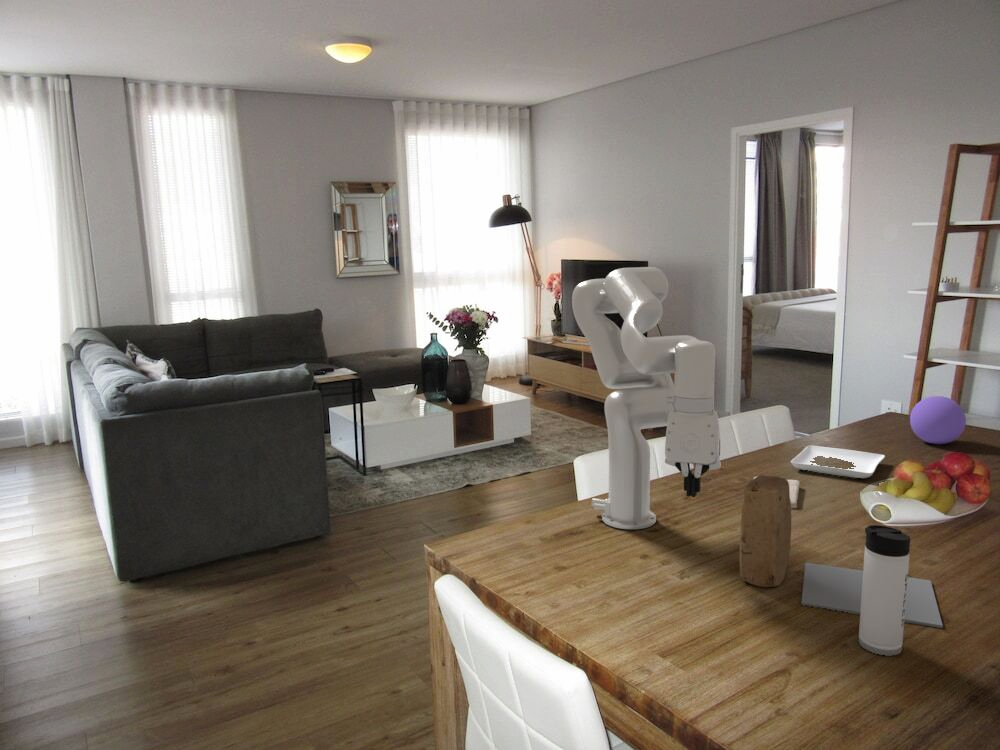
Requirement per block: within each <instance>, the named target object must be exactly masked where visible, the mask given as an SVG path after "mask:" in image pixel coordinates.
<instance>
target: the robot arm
mask: <svg viewBox="0 0 1000 750" xmlns="http://www.w3.org/2000/svg"><path fill="white" fill-rule="evenodd" d="M668 281H669V280H668V279H667V276H666V275H665V273H664V272H663V271H662V270H661V269H660V268H658V267H654V266H640V267H622V268H621V267H620V268H617V269H614V270H612V271H611V272H609V273H608V274H607V275H606V276H605V278H594V279H588V280H584V281H582V282H580V283H578V284H577V285H576V286H575V287H574V289H573V291H572V296H571V304H572V305H571V307H572V312H573V316H574V318H575V319H574V320H575V321H576V323H577V326H578V327H579V330H580V331H581V333H582V335H584V338H585V339H586V341H587V343H588V345H589V349H590V351H591V354H592V358H593V360H594V364H595V366H596V370H597V372H598V375H599V378H600V380H601V383H602V384H603V385H604V386H605V387H606V388H607V389H613V390H614V391H612V392H611V393H609V394H608V395H607V397H606V399H605V401H604V407H603V408H604V416H605V421H606V427H607V437H608V498H605V499H602V498H598V497H597V498H595V497H592V499H591V506H592V507H593V509H594V510H601V511H603V512H602V514H601V521H603V522H604V524H606V525H608V526H610V527H612V528H615V529H620V530H621V529H622V530H641V529H647V528H650V527H652V526H653V525H654V524H655V523H657V515H656V514H655V513H654V512H653V511H652V510H650V501H651V499H650V498H651V497H650V495H651V494H650V491H651V486H650V485H651V448H650V444H649V441H647V440H646V438H645V437H644V435H643V434H642V432H641V430H644V429H654V428H662V427H666V431H665V442H664V443H665V444H664V455H665V459H664V463H665V464H667V465H669V466H672V467H675V469H677V470H678V471H679V472H680V473H681V475H682V477H683V491H684V492H685V491H686V493H685V495H686V497H689V498H690V497H692V498H696V497H697V494H698V493H700V492H701V482H702V481H701V480H702V478H701V476H702V475H704V474H705V473H707V472H708V471H713V470H719V469H720V468H721V466H722V464H721V463H722V462H721V459H720V455H721V431H720V430H721V429H720V423H719V415H718V411H716V410H715V375H716V373H715V372H716V348H715V345H714V343H712V342H710V341H707V340H700V339H699V338H698V337H697V338H696V337H695V336H693V335H689V334H688V335H687V334H684V335H683V334H682V335H680V334H679V335H668V336H667V335H664V336H663V335H662V336H651V337H646V336H645V335H644V334H646V333H647V332H648V331H650V330H651V329H653V328H654V327H656V326H657V324H658V323H659V322H660V321H661V319H662V316H663V313H664V310H663V309H664V308H663V305H662V302H663V301H664V300H665V299H666V298H667V296H668V294H669V282H668ZM605 314H619V315H620V317H621V318H622V320H623V323H622V326H621V328H620V327H619V326H618V325H617V324H616V323H615V322H614V321H612V320H611V319H610V318H608V317H607V316H606V315H605ZM671 374H674V378H673V379H674V380H673V379H672V376H671ZM691 464H692V465H695V469H694V472H692V470H691Z"/></svg>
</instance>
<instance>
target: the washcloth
mask: <svg viewBox="0 0 1000 750" xmlns="http://www.w3.org/2000/svg"><path fill="white" fill-rule="evenodd" d="M758 476H759V475H758ZM758 476H754V477H753V479H755V478H756V477H758ZM786 480H787V481H788V483H789V491H790V502H791V507H793V508H794V509H797V508H798V501H797V500H799V492H800V491H799V490H800V486H801V482H800V481H799V480H797V479H786ZM796 507H797V508H796ZM793 508H792V509H793Z"/></svg>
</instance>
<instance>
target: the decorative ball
mask: <svg viewBox="0 0 1000 750" xmlns="http://www.w3.org/2000/svg"><path fill="white" fill-rule="evenodd" d="M909 416H910V417H909V423H910V426H911V430H912V431H913V432H914V434H915V435H916V436H917V437H918V438H919V439H921V440H922V441H923V442H926V443H929V444H932V443H933V444H932V445H946V444H949V443H952V442H953V441H955V440H957V439H958V438H959V437H960V436H961V435H962V434H963V432H964V430H965V428H966V424H967V423H966V422H967V420H966V419H967V418H966V414H965V412H964V409H963V408H962V407H961V405H960V404H959V403H958V402H956V401H955V400H953V399H951V398H949V397H947V396H946V397H945V396H943V395H942V396H941V395H931V396H929V397H925V398H924V399H921V400H920V401H918V402H917V403H916V404H915V405H914V407H913V408H912V409H911V412H910V415H909Z"/></svg>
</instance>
